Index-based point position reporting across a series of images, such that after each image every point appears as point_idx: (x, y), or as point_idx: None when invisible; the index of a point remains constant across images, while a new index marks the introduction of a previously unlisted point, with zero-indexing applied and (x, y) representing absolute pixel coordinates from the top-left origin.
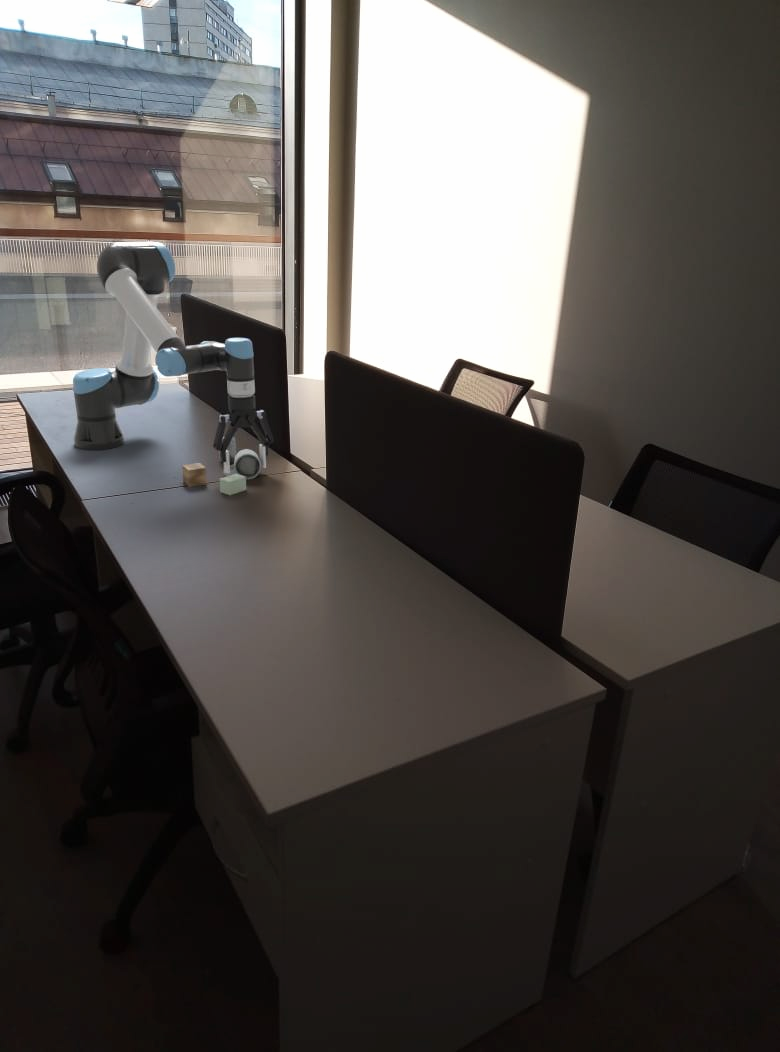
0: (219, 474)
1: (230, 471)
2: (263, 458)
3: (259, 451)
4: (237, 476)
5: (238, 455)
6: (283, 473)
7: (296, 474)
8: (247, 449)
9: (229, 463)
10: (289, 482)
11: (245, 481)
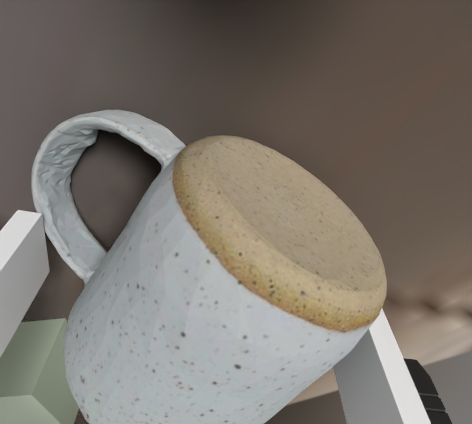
0: (22, 89)
1: (62, 253)
2: (336, 375)
3: (385, 376)
4: (26, 419)
5: (113, 373)
6: (404, 307)
7: (431, 342)
8: (282, 368)
9: (7, 343)
10: (314, 382)
11: (76, 405)
